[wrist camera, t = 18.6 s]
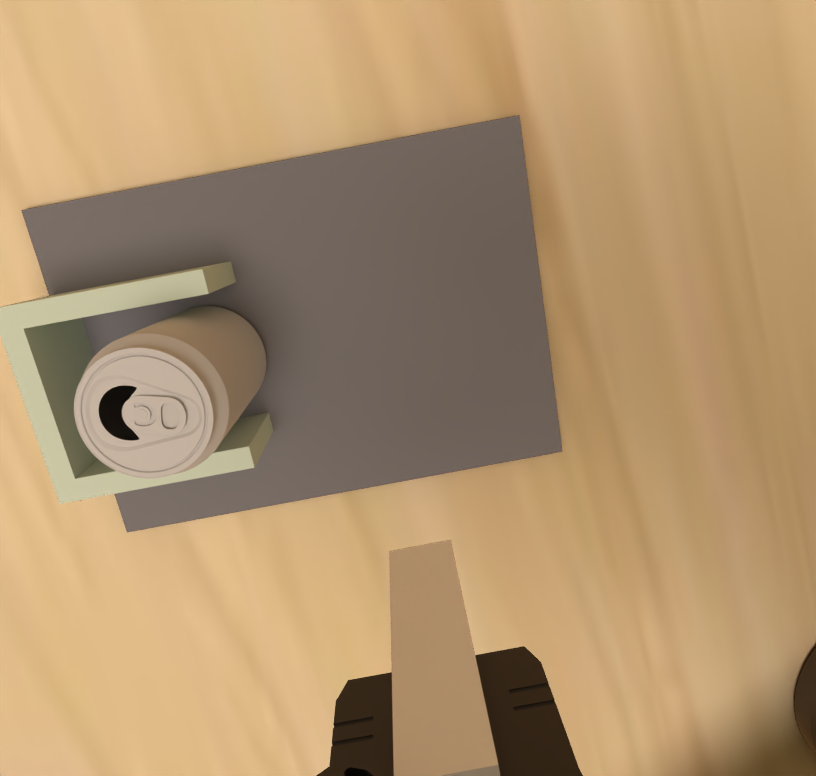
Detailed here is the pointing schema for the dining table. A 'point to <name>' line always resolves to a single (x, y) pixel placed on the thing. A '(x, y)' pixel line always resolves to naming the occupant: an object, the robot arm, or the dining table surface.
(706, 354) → the dining table surface
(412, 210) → the mount
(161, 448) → the beverage can
